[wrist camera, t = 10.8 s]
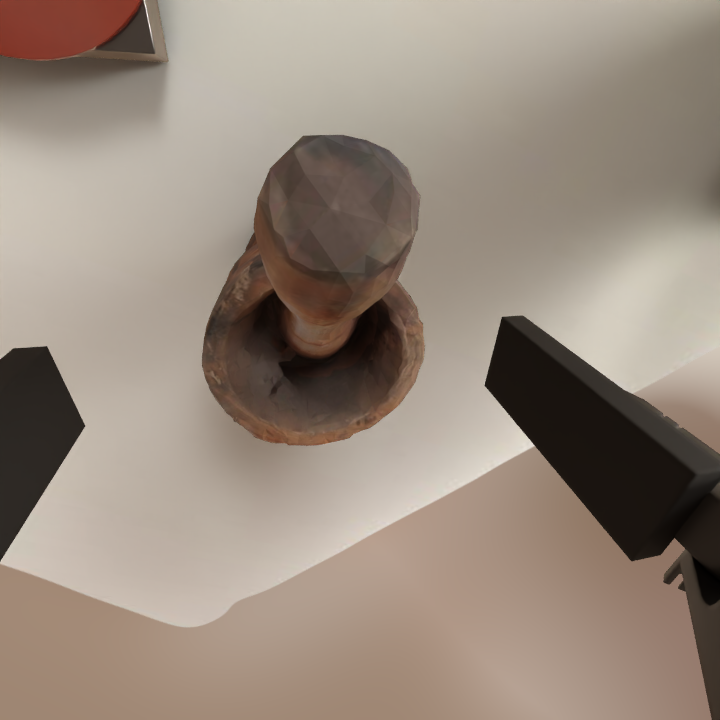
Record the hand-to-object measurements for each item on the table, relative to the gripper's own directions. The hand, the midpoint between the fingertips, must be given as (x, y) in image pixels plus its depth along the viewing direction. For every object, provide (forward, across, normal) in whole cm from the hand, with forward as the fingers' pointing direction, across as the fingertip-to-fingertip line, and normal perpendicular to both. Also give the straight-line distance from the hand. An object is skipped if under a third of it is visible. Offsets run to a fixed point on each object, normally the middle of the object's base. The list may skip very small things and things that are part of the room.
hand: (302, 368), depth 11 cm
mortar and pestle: (+16, 0, 0) cm, 16 cm away
